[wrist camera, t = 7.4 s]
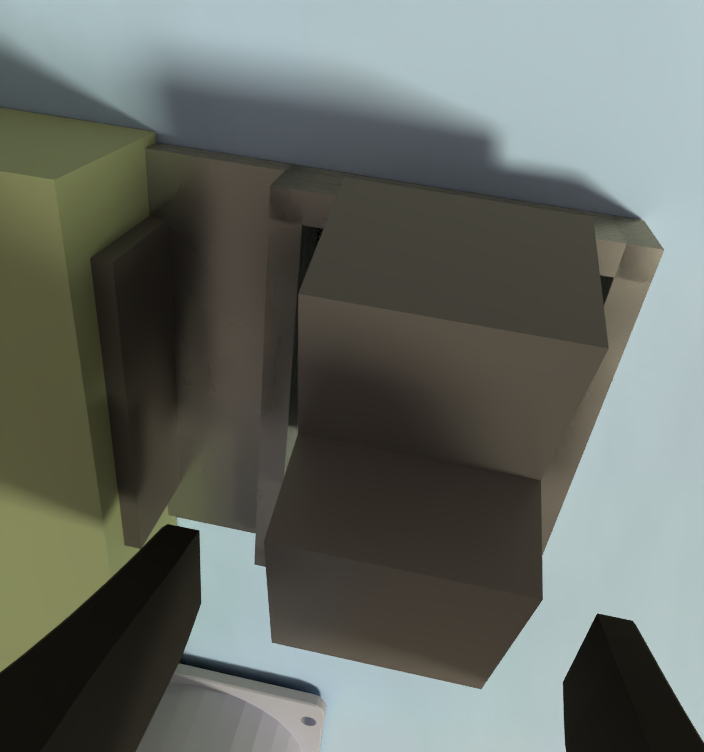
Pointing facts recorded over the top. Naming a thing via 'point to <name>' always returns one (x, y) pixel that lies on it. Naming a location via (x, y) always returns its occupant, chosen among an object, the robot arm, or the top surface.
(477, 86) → the top surface
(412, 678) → the top surface
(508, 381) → the stepped block
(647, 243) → the grey rectangular frame
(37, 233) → the deck
